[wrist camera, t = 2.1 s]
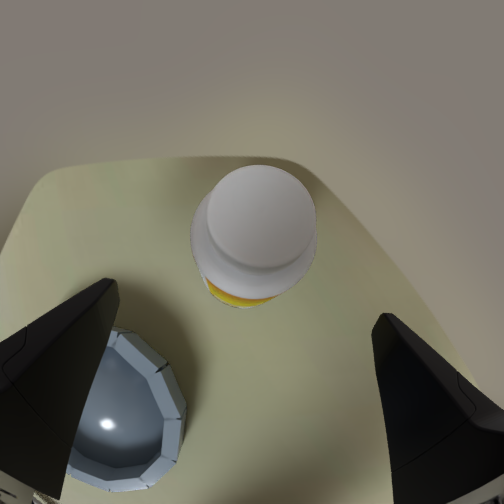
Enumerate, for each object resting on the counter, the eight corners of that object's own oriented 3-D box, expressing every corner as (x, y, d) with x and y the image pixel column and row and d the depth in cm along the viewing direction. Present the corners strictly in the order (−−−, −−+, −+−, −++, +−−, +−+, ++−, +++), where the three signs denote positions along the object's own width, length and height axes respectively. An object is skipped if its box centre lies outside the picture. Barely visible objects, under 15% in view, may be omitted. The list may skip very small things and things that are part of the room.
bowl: (212, 456, 16) (211, 475, 13) (80, 478, 14) (66, 493, 11) (147, 302, 19) (134, 298, 16) (23, 344, 16) (1, 345, 13)
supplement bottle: (295, 286, 20) (364, 250, 10) (223, 322, 19) (224, 322, 9) (260, 217, 21) (291, 130, 11) (189, 248, 20) (160, 177, 10)
